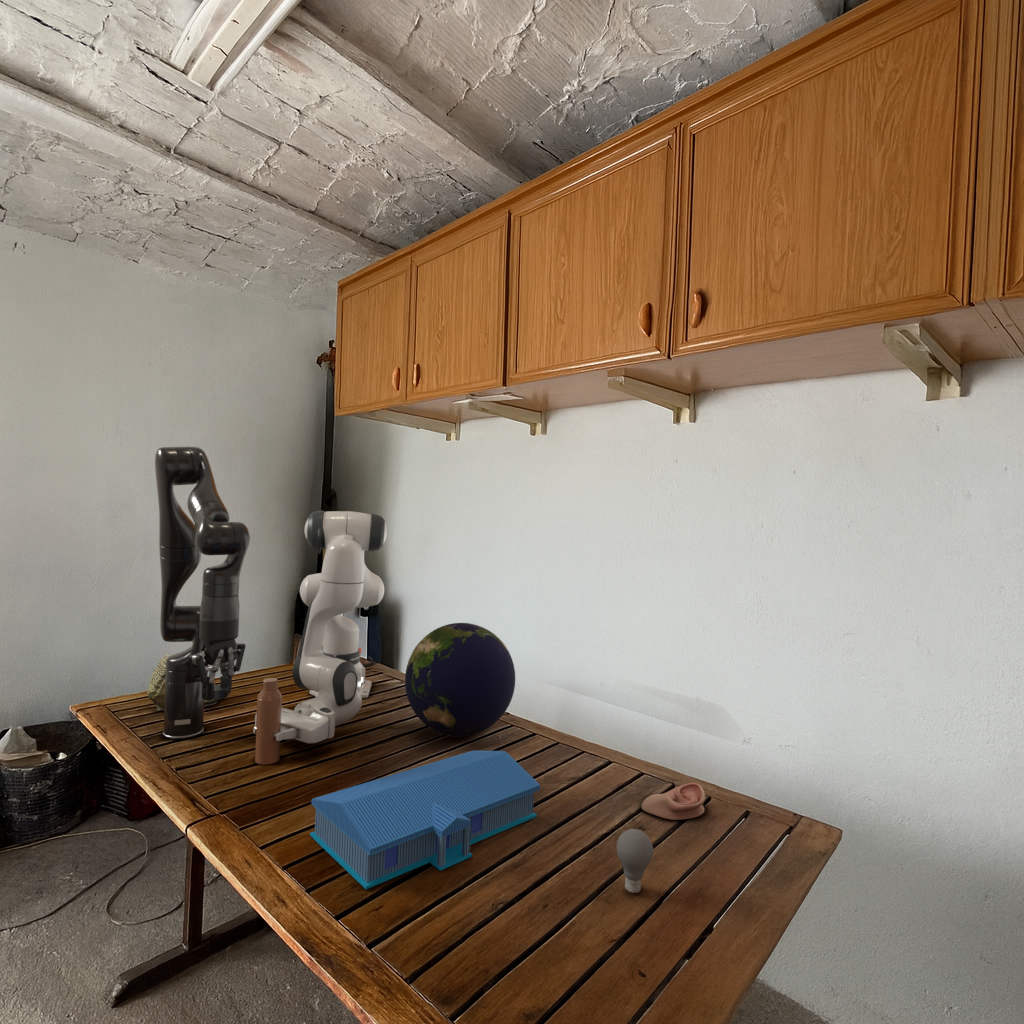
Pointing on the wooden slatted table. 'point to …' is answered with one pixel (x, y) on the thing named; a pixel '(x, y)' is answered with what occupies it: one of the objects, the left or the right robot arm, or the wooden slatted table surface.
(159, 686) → the fossil
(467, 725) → the globe
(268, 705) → the bottle
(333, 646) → the right robot arm
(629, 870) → the light bulb
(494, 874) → the wooden slatted table surface
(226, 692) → the cap
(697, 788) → the anatomical model
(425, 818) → the model building
